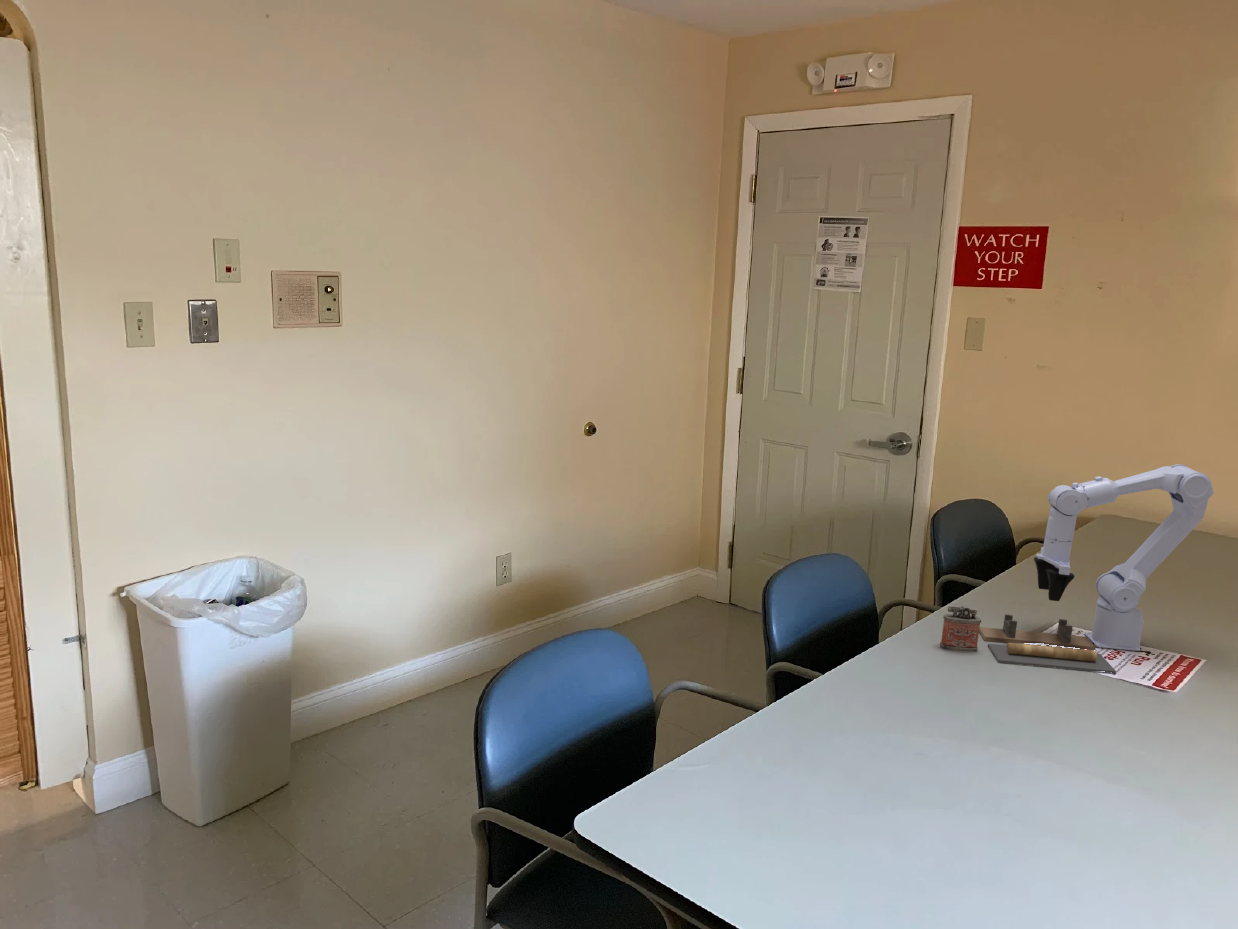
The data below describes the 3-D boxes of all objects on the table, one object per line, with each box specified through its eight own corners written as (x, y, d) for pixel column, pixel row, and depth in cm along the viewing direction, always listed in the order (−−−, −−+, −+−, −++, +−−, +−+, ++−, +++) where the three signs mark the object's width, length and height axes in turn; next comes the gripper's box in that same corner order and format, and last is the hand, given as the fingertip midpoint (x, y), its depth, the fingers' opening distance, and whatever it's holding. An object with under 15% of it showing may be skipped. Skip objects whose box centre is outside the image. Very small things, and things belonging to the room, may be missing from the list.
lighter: (974, 647, 204) (980, 605, 202) (979, 653, 200) (984, 610, 198) (938, 644, 204) (943, 602, 202) (941, 650, 201) (947, 607, 199)
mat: (1100, 656, 201) (1100, 654, 201) (1115, 674, 193) (1116, 671, 192) (987, 646, 204) (988, 643, 204) (998, 662, 196) (998, 660, 196)
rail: (1091, 658, 198) (1093, 648, 198) (1095, 663, 196) (1097, 653, 196) (1006, 650, 201) (1007, 640, 200) (1009, 655, 199) (1010, 645, 198)
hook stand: (1085, 640, 210) (1088, 620, 209) (1095, 651, 204) (1098, 630, 203) (978, 630, 213) (980, 610, 212) (984, 640, 207) (987, 620, 206)
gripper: (1031, 527, 214) (1021, 582, 217) (1050, 545, 200) (1040, 603, 203) (1062, 530, 213) (1052, 585, 216) (1084, 549, 199) (1073, 607, 202)
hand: (1048, 594), depth 209 cm, fingers open, 7 cm apart
